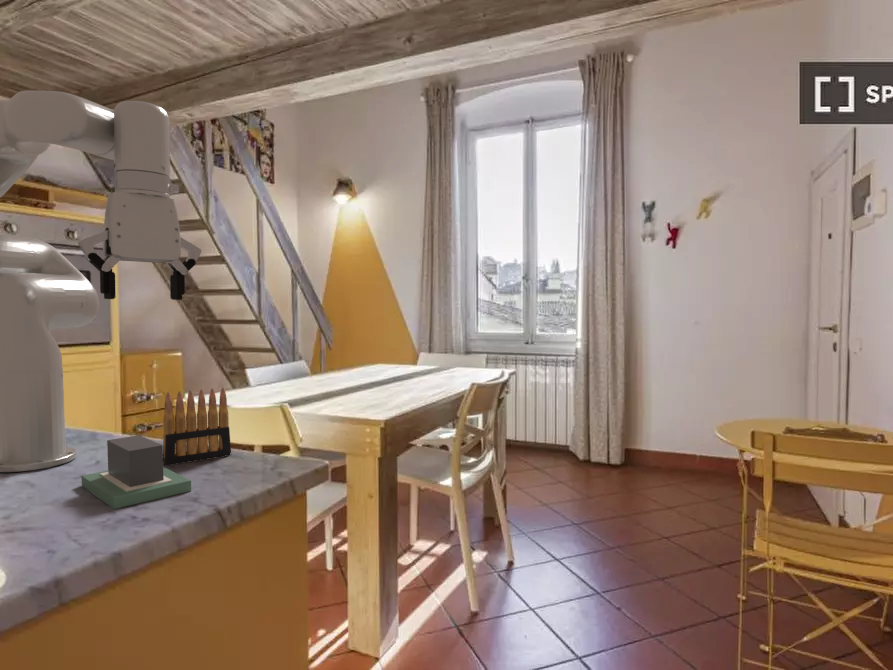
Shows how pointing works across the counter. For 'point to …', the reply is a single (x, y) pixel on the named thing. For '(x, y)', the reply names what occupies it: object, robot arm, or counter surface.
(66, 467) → the counter surface
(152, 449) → the block
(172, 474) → the header board
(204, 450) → the ammunition clip
